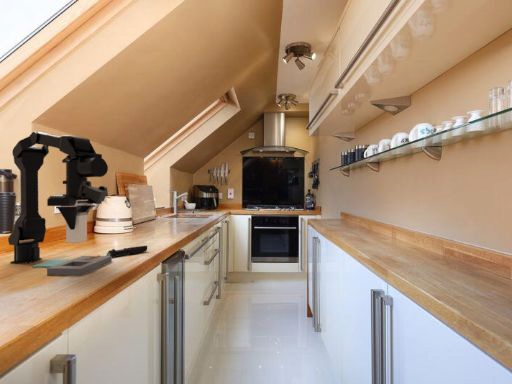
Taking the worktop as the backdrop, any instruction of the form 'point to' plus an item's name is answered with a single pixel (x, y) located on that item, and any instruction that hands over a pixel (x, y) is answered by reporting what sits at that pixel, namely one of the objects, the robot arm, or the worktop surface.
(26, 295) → the worktop surface
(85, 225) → the beige grey rectangular block
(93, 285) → the worktop surface
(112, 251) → the electric trimmer
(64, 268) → the grey panel
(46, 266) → the teal mat
